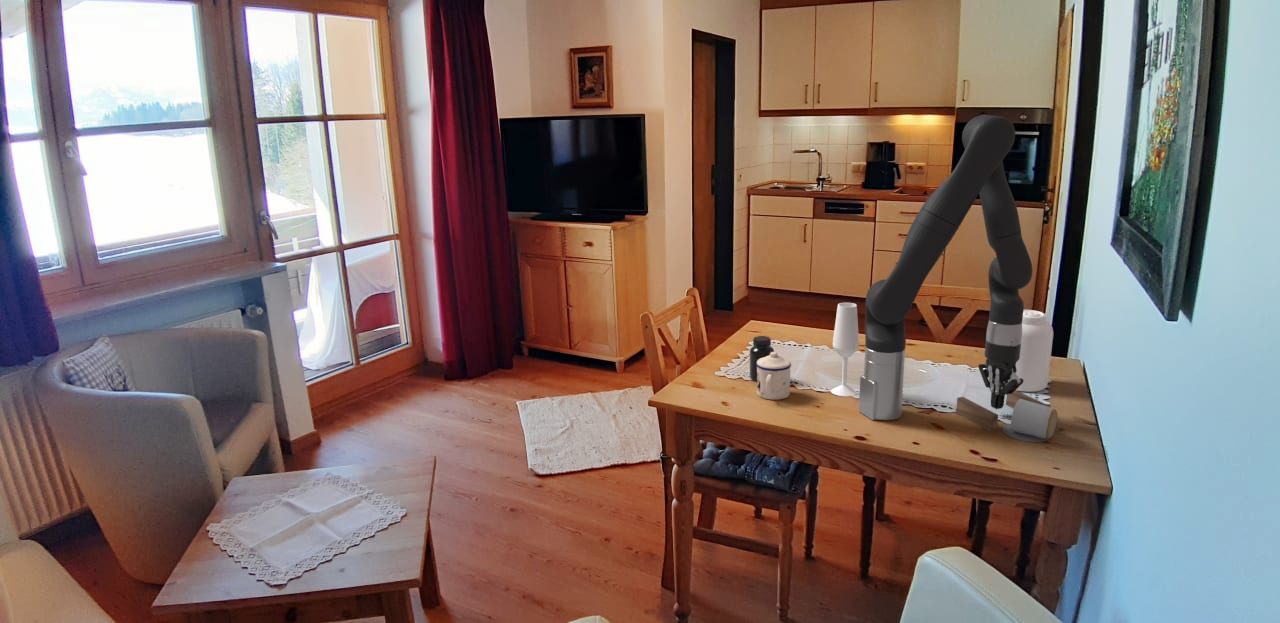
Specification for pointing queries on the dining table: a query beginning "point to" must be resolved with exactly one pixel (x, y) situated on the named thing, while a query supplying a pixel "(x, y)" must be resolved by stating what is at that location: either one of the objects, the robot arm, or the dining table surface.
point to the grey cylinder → (1033, 419)
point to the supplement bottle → (759, 353)
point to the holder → (985, 416)
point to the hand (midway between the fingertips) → (996, 407)
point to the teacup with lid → (773, 377)
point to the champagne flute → (845, 342)
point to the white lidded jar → (1034, 351)
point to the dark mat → (1021, 435)
